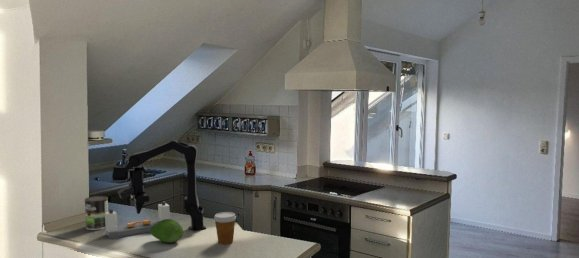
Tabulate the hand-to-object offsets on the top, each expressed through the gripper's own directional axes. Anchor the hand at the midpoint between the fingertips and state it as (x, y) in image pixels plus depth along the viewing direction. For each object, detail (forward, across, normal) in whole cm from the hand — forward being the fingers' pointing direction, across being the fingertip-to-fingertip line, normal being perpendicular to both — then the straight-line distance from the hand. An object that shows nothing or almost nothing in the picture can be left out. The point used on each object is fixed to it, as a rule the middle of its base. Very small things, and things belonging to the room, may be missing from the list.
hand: (138, 213), depth 215 cm
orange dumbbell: (+6, 0, 0) cm, 6 cm away
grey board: (+8, 0, 0) cm, 8 cm away
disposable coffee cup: (+8, +37, +27) cm, 47 cm away
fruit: (+8, +22, +6) cm, 24 cm away
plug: (+6, 0, +12) cm, 13 cm away
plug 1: (+6, 0, -12) cm, 13 cm away
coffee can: (+9, -18, -15) cm, 25 cm away
